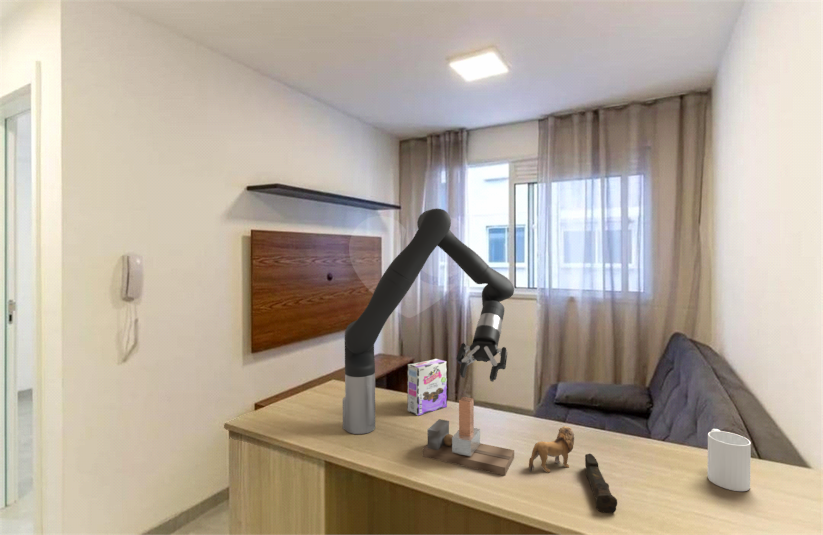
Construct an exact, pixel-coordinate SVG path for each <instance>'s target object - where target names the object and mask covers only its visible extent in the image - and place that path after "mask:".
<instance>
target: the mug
mask: <svg viewBox="0 0 823 535" xmlns="http://www.w3.org/2000/svg"><path fill="white" fill-rule="evenodd" d="M751 445H752V443H751V441H750V439H748V438H747V437H745V436H744V435H743V436H742V435H739V434H737V433H734V432H729V431H723V430H720V429H718V428H712V429H711V431H709V432H708V433H707V478H708V480H709V481H710V482H711V483H712V484H714V485H716V486H718V487H720V488H723V489H725V490H728V491H729V490H730V491H735V492H746V491H749V490H750V489H751V454H752V453H751V452H752V451H751V450H752V449H751V448H752V447H751Z"/></svg>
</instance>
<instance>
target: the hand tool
mask: <svg viewBox="0 0 823 535" xmlns="http://www.w3.org/2000/svg"><path fill="white" fill-rule="evenodd" d="M584 462H585V468H586V469H585V472H586V475H585V476H586V478H587V479H588V482H589V484H590V487H591V489H592V494H593V496H594V498H595V505H596V506H595V508H596V510H597V511H598V512H599V513H605V514H614V513H615V512H616V510H617V506H618V499H617V498H616V497H615V496H614V495H612V493H611V490H610V485H609V483H607V482H606V480H605V477H604V476H603V474H602V473H601V470H600V466H599V462H598V461H597V458H596V457H595V456H594V454H592V453H587V454H585V456H584Z"/></svg>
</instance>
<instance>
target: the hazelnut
mask: <svg viewBox="0 0 823 535" xmlns="http://www.w3.org/2000/svg"><path fill="white" fill-rule="evenodd" d="M453 436H454V434H451V433H449V434H447V435H445V437H444V443H445V444H446V445H447V446H452V437H453Z"/></svg>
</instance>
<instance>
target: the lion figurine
mask: <svg viewBox="0 0 823 535" xmlns="http://www.w3.org/2000/svg"><path fill="white" fill-rule="evenodd" d="M574 444H575V433H574V431H573V430H572V428H571V427H570V426H566V425H564V426H561V427H560V428H559V429H558V434H557V436H556V439H555V440H552V441H538V442H536V443H535V444H534V446H533V449H532V451H531V457H529V460H528V468H529V473H532V471H533V469H535V465H534V461H535V460H536V459H537V458H538V457H539V458H540V460H541V465H540V466H541V468H542V469H543V470H544V472H546V473H551V469H550V468H548V467H547V466H546V465H547V461H548V457H551V458H554V463H555V464H560V463H561V461H560V456H562V458H563V460H562V465H563V467H564V468H570V465H569V463H568V459H569V454H570V453H571V452H572V450H573V449H574Z"/></svg>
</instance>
